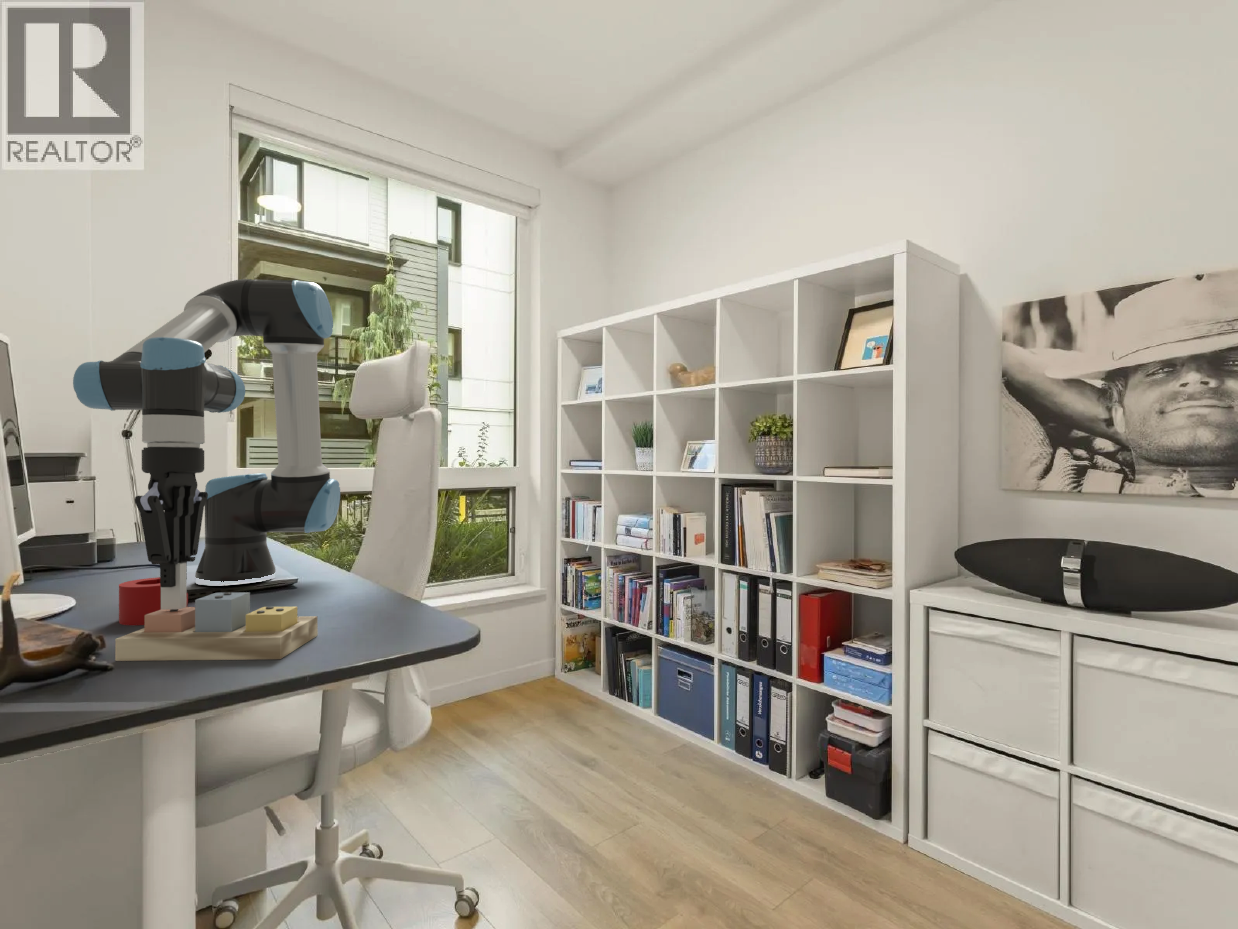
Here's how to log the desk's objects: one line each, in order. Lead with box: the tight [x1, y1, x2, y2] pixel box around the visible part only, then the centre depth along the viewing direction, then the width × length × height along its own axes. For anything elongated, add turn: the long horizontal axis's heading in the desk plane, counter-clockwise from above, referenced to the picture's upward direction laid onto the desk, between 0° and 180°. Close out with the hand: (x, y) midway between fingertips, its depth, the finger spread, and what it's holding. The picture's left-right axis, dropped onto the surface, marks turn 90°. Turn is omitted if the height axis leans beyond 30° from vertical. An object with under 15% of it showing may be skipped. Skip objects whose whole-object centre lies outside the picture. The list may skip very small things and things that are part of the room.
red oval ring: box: [118, 576, 189, 626], centre depth 115 cm, size 18×9×7 cm, turn 18°
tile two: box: [194, 591, 251, 632], centre depth 94 cm, size 5×5×5 cm
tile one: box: [144, 606, 195, 633], centre depth 94 cm, size 5×5×5 cm
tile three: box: [246, 606, 298, 632], centre depth 94 cm, size 5×5×5 cm
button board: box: [114, 615, 319, 662], centre depth 94 cm, size 12×22×3 cm, turn 92°
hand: (173, 608), depth 94 cm, fingers closed, pressing on tile one
